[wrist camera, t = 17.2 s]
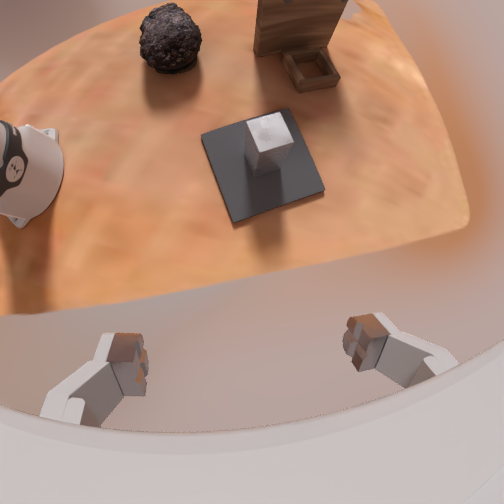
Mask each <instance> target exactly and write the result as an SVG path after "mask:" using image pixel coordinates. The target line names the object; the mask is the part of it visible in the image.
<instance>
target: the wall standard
mask: <svg viewBox="0 0 504 504" xmlns="http://www.w3.org/2000/svg"><path fill="white" fill-rule="evenodd" d="M347 1H348V0H258V8H257V18H256V28H255V38H254V48H253V50H254V52H255V54H256V55H257V57H261V56H265V55H271V54H276V53H282V54H283V59H282V65H283V66H284V68H285V70H286V71H287V73H288V75H289V77H290V78H291V80H292V82H293V84H294V85H295V87H296V89H297V91H298V93H302V92H306V91H311V90H317V89H322V88H328V87H334V86H336V84H337V83H338V81H339V79H340V78H341V77H340V75H339V74H338V72H337V70H336V69H335V67H334V66H333V64H332V63H331V61H330V60H329V58H328V57H327V55H326V54H325V52H324V51H323V49H322V48H317V47H327V45H328V43H329V41H330V39H331V37H332V34H333V32H334V30H335V28H336V26H337V24H338V21H339V19H340V17H341V15H342V13H343V10H344V8H345V6H346V4H347ZM309 48H312V49H309ZM310 61H316V63H317V64H318V66H319V67H320V69H321V70H322V72H323V74H324V75H325V76H318V77H312V78H307V79H305V78H304V76H303V75H302V73H301V71H300V70H299V68H298V66H297V65H296V64H297V63H303V62H310Z"/></svg>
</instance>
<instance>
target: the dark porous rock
mask: <svg viewBox="0 0 504 504" xmlns="http://www.w3.org/2000/svg"><path fill="white" fill-rule="evenodd" d="M140 30H141V31H142V35H141V37H140V41H139V44H141V47H140V56H141V57H142V58H143V59H145V60H146V61H147V63H148V65H149V66H150V67H152V68H155V69H156V71H157V72H158V73H166V74H177V73H181V72H185V71H188V70H190V69H192V68H193V67H194V66H195V64H196V62H197V53H198V52H199V51H200V45H201V42H202V39H201V33H200V29H199V27H198V25H195V23H194V22H193V20H192V19H191V16H189V15H188V14H187V13H185V12H184V10H183V9H182V8H180V7H177V5H176V4H175V3H167V4H166V5H163V6H160V7H158V8H154V9H153V10H152V11H151V12H150V13H149V16H146V17H145V19H144V20H143V21H142V24H141V26H140Z"/></svg>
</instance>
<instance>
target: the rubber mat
mask: <svg viewBox="0 0 504 504" xmlns="http://www.w3.org/2000/svg"><path fill="white" fill-rule="evenodd" d="M278 112H280V113H281V115H282V117H283V119H284V121H285V124H286V126H287V128H288V130H289V132H290V134H291V136H292V139H293V141H294V143H293V145H292V147H291V149H290V151H289V153H288V155H287V157H286V159H285V161H284V163H283V165H282V166H281V168H280V169H278V170H275V171H272V172H269V173H266V174H263V175H260V176H257V177H254V176H253V174H252V171H251V169H250V166H249V164H248V161H247V159H246V156H245V154H244V145H245V132H246V121H250V120H253V119H256V118H260V117H263V116H267V115H271V114H274V113H278ZM201 138H202V141H203V143H204V146H205V149H206V151H207V154H208V157H209V159H210V162H211V165H212V167H213V170H214V173H215V176H216V178H217V181H218V184H219V186H220V189H221V192H222V194H223V197H224V200H225V202H226V205H227V208H228V210H229V213H230V216H231V218H232V221H233V223H236V222H238V221H241V220H244V219H246V218H249V217H252V216H254V215H257V214H260V213H263V212H265V211H268V210H271V209H274V208H276V207H279V206H282V205H285V204H288V203H290V202H293V201H296V200H299V199H302V198H305V197H308V196H310V195H313V194H316V193H319V192H322V191H324V190H325V187H324V185H323V182H322V180H321V178H320V175H319V173H318V171H317V168H316V166H315V164H314V161H313V159H312V157H311V155H310V152H309V150H308V148H307V146H306V144H305V141H304V139H303V137H302V135H301V133H300V131H299V129H298V127H297V124H296V122H295V120H294V118H293V116H292V114H291V112H290V110H289V108H287V109H283V110H279V111H275V112H271V113H268V114H264V115H260V116H257V117H253V118H250V119H247V120H243V121H240V122H237V123H234V124H231V125H228V126H224V127H221V128H219V129H216V130H213V131H210V132H207V133H204V134H201Z"/></svg>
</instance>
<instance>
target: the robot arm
mask: <svg viewBox="0 0 504 504" xmlns="http://www.w3.org/2000/svg"><path fill="white" fill-rule="evenodd" d="M63 168H64V161H63V155H62V151H61V149H60V147H59V144H58V131H57V130H56V129H54V128H50V129H41V130H38V129H36V128H34V127H32V126H30V125H28V124H27V125H25V126H20V127H17V128H15V127H14V126H13V125H12V124H10V123H8V122H7V123H6V122H4V121H2V120H0V214H1V215H5V216H6V217H7V218H8V219H9V220H10V221H11V222H12V223H13V224H14V225H15V226H16V227H18V228H23V227H24V226H25V225H26V224H27V223H28V222H29V220H30V219H32V218H33V217H35V216H37V215H39V214H41V213H42V212H43V211H44V210H45V209H46V208H47V207H48V206H49V205H50V204H51V202H52V201H53V199H54V197H55V195H56V193H57V191H58V189H59V186H60V183H61V180H62V175H63ZM17 218H18V219H17ZM347 327H348V330H347V331H346V332H345V333H344V336H343V348H344V351H345V352H346V354H347V355H349V356H351V357H352V363H353V365H354V366H355V368H356V369H357V371H358V372H361V371H365V370H370V369H374V368H375V369H376V370H377V371H379V372H380V373H382V374H384V375H385V376H387V377H388V378H390V379H391V380H393V381H394V382H396V383H398V384H399V385H401V386H402V387H404V388H405V389H403V390H401V391H398V392H395V393H393V394H390V395H387V396H384V397H381V398H378V399H375V400H372V401H369V402H366V403H363V404H360V405H357V406H353V407H350V408H346V409H343V410H339V411H335V412H331V413H328V414H323V415H319V416H315V417H310V418H305V419H301V420H296V421H290V422H285V423H279V424H273V425H266V426H259V427H251V428H242V429H233V430H221V431H206V432H144V431H128V430H116V429H107V428H101V426H100V425H101V424H102V423H103V421H104V420H105V419H106V418H107V417H108V415H109V414H110V413H111V412H112V411H113V410H114V408H115V407H116V406H117V405H118V404H119V402H120V401H121V400H122V398H124V396H145V392H146V385H147V382H146V379H145V377H146V376H147V375H148V356H147V352H146V350H145V349H143V345H144V340H143V337H142V335H141V334H134V333H103V334H102V336H101V339H100V341H99V344H98V347H97V349H96V352H95V355H94V358H93V361H88V362H87V363H85V364H84V365H83V366H82V367H80V368H79V369H78V370H77V371H75V372H74V373H73V374H71V375H70V376H68V377H67V378H66V379H64V380H63V381H62V382H61V383H59V384H58V385H57V386H55V387H54V388H53V389H51V390H50V391H49V392H48V393H47V396H46V398H45V401H44V404H43V407H42V409H41V412H40V415H39V416H36V415H32V414H29V413H25V412H22V411H18V410H15V409H12V408H9V407H6V406H3V405H0V504H504V340H501V341H499V342H497V343H496V344H495V345H493V346H491V347H489V348H488V349H486V350H484V351H483V352H481V353H479V354H477V355H476V356H474V357H472V358H470V359H468V360H467V361H465V362H463V363H461V364H459V363H458V361H457V360H456V359H455V358H454V357H453V356H452V355H451V354H450V353H449V352H448V351H447V350H446V349H445V348H442V347H439V346H437V345H435V344H432V343H430V342H427V341H425V340H422V339H420V338H418V337H415V336H413V335H410V334H408V333H405V332H400V331H399V330H398V329H397V328H396V327H395V326H394V324H392V322H391V321H390V320H389V319H388V318H387V317H386V316H385V315H384V314H383V313H382V312H375V313H370V314H367V315H361V316H355V317H350V318H349V319H348V322H347Z"/></svg>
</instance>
